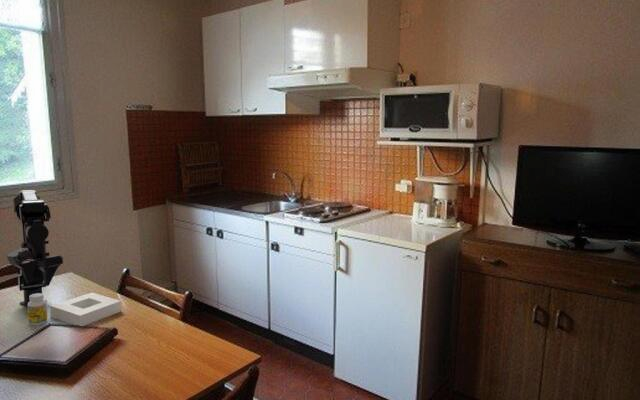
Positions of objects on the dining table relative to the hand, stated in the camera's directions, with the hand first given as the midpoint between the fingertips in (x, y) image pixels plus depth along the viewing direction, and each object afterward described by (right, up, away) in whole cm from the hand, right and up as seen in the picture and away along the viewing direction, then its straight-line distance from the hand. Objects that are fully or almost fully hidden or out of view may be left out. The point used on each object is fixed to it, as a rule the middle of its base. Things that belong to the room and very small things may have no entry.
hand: (37, 284), depth 149 cm
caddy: (+11, -13, +10) cm, 20 cm away
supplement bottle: (-1, -13, +2) cm, 13 cm away
